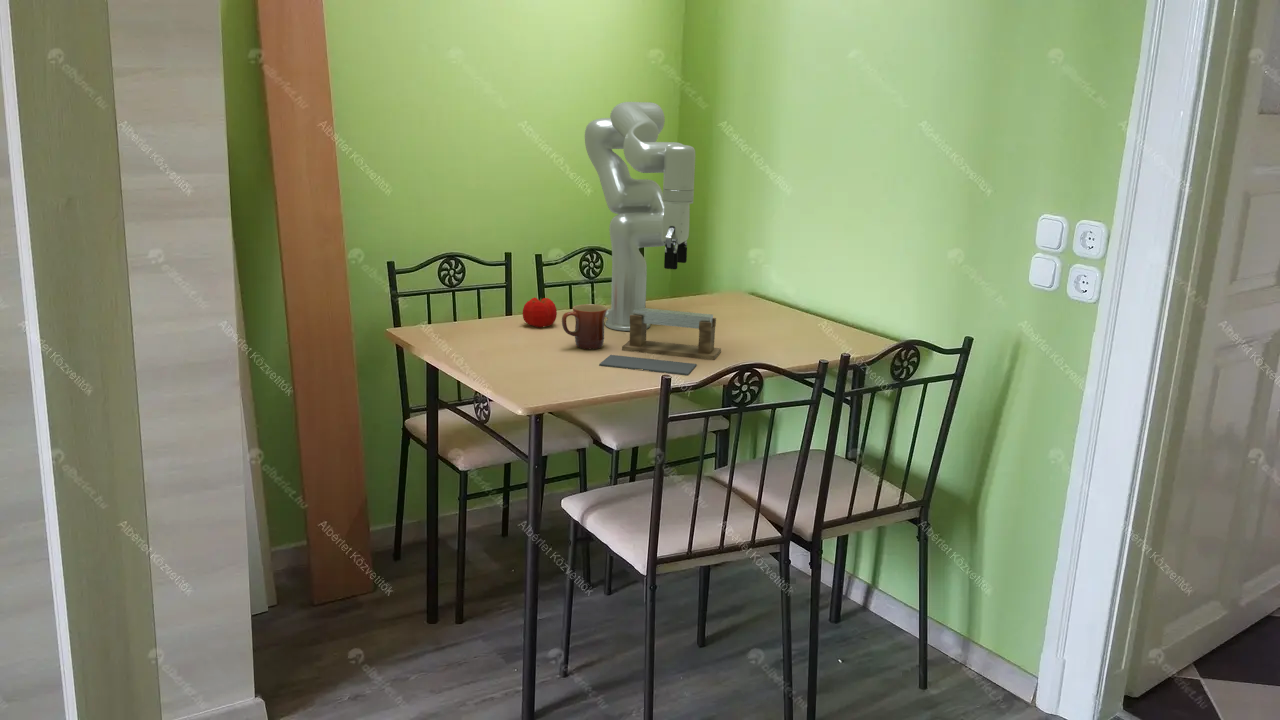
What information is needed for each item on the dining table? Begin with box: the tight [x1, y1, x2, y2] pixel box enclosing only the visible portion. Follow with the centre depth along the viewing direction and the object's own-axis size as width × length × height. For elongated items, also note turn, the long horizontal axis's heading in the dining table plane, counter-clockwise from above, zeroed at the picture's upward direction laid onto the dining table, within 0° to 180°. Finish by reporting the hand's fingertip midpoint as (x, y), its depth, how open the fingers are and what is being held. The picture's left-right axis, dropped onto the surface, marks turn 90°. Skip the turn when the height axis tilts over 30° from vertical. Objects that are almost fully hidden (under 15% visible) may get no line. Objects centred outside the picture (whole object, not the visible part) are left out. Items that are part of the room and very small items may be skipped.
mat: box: [598, 354, 697, 376], centre depth 242 cm, size 22×9×1 cm, turn 74°
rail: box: [633, 307, 714, 330], centre depth 253 cm, size 20×3×3 cm, turn 74°
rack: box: [621, 315, 722, 361], centre depth 254 cm, size 24×8×9 cm, turn 74°
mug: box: [561, 303, 608, 351], centre depth 255 cm, size 12×9×10 cm
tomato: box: [522, 297, 558, 329], centre depth 276 cm, size 9×9×8 cm
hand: (675, 265), depth 249 cm, fingers open, 9 cm apart
